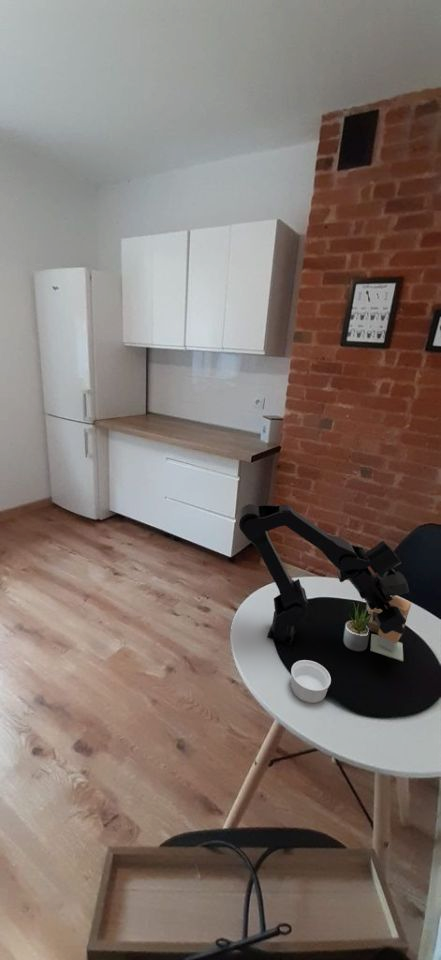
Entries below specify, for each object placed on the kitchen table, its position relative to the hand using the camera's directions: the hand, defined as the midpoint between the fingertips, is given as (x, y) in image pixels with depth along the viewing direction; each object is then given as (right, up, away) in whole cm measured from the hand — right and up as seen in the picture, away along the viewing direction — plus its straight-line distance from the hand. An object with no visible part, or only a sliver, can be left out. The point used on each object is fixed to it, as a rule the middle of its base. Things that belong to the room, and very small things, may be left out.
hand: (398, 623), depth 102 cm
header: (+1, -4, +15) cm, 15 cm away
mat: (-2, -7, +3) cm, 8 cm away
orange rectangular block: (-2, -6, +2) cm, 7 cm away
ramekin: (-27, -10, -13) cm, 32 cm away
